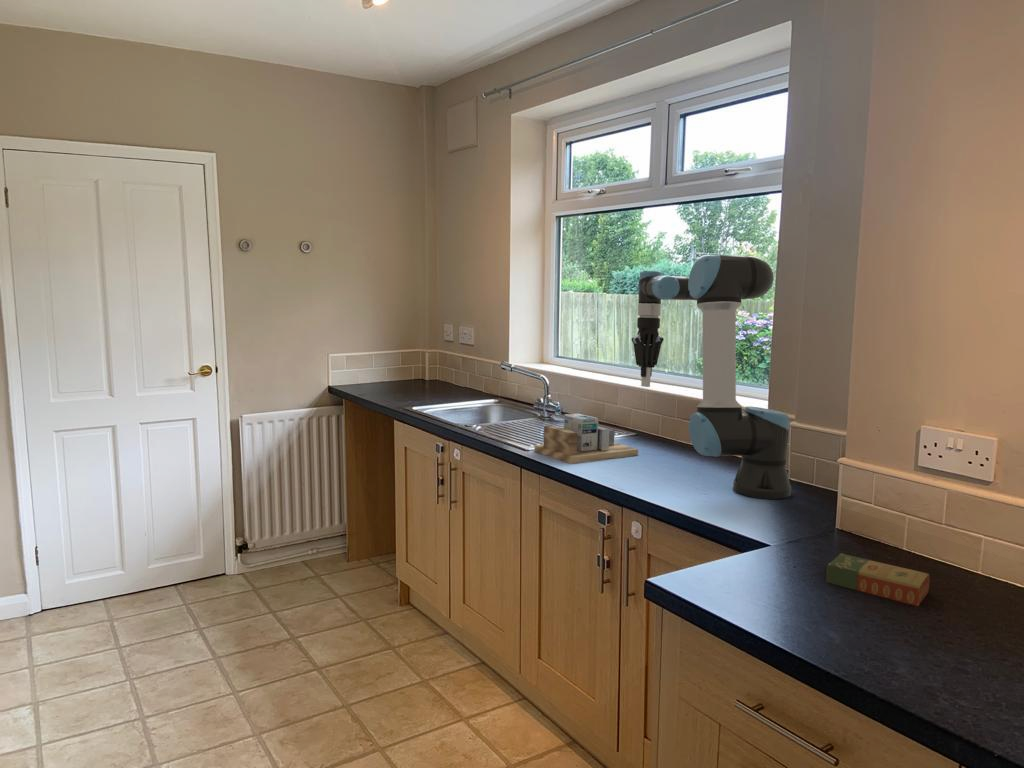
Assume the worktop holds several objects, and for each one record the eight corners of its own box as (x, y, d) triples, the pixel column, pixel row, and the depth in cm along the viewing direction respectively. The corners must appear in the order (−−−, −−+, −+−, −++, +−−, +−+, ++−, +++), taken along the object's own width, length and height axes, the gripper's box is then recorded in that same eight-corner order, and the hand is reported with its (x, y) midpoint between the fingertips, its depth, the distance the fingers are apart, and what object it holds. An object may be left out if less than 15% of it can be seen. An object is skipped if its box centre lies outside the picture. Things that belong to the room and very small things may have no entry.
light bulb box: (598, 450, 243) (599, 417, 242) (581, 452, 240) (582, 419, 238) (578, 444, 252) (579, 412, 251) (562, 445, 249) (563, 413, 248)
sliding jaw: (624, 448, 248) (625, 427, 247) (601, 450, 242) (602, 429, 241) (597, 440, 259) (598, 420, 258) (575, 442, 254) (575, 422, 253)
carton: (918, 608, 132) (920, 585, 132) (824, 583, 142) (826, 562, 142) (928, 594, 139) (930, 572, 138) (838, 571, 149) (840, 551, 148)
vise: (637, 455, 247) (639, 428, 246) (570, 463, 232) (571, 435, 231) (599, 443, 264) (600, 418, 263) (534, 451, 249) (535, 424, 248)
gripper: (654, 316, 257) (651, 384, 260) (626, 316, 250) (623, 386, 253) (670, 317, 251) (667, 386, 254) (642, 317, 244) (639, 388, 246)
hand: (645, 386), depth 253 cm, fingers closed
